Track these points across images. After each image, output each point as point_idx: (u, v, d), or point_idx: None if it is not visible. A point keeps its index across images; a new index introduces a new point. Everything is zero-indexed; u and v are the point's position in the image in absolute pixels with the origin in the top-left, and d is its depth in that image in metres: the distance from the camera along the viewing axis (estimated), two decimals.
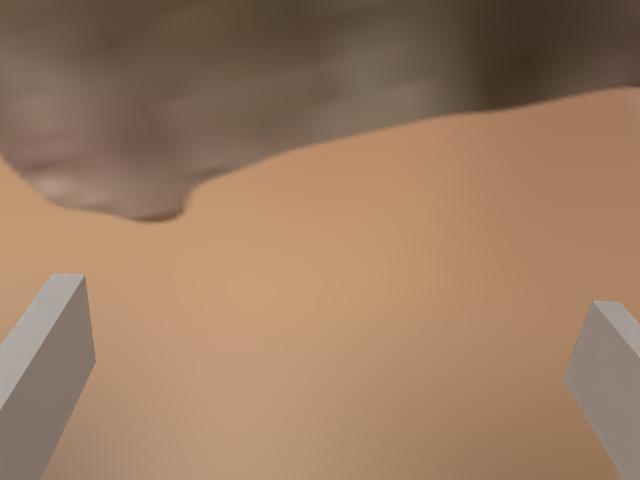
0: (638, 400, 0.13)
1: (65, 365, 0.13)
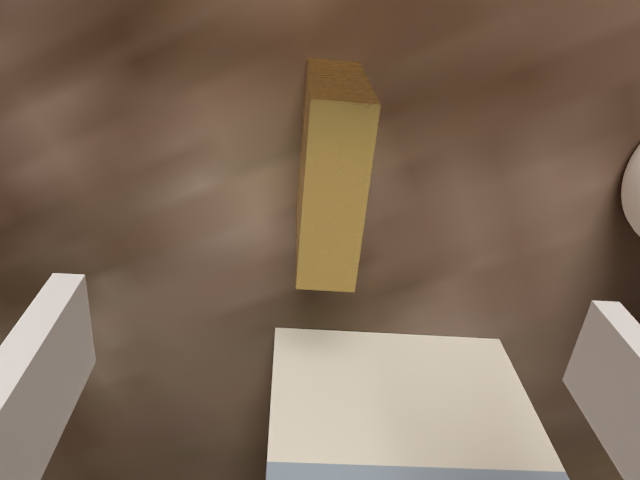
0: (638, 400, 0.13)
1: (65, 365, 0.13)
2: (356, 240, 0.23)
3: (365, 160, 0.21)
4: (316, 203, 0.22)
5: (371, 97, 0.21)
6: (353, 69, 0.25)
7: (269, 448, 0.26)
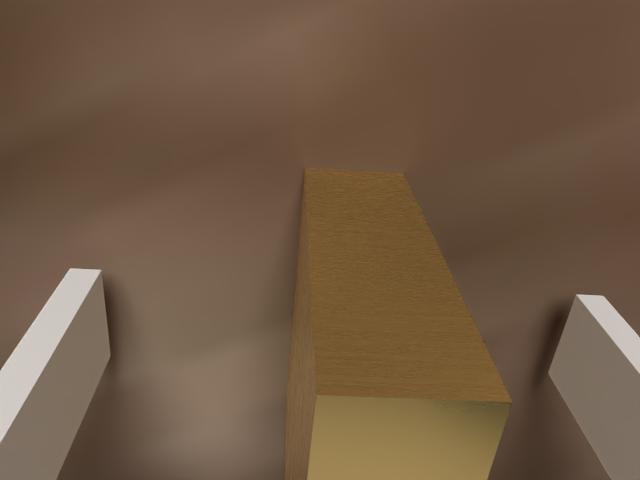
0: (619, 391, 0.13)
1: (83, 358, 0.13)
2: None
3: None
4: None
5: (474, 352, 0.08)
6: (398, 205, 0.12)
7: None
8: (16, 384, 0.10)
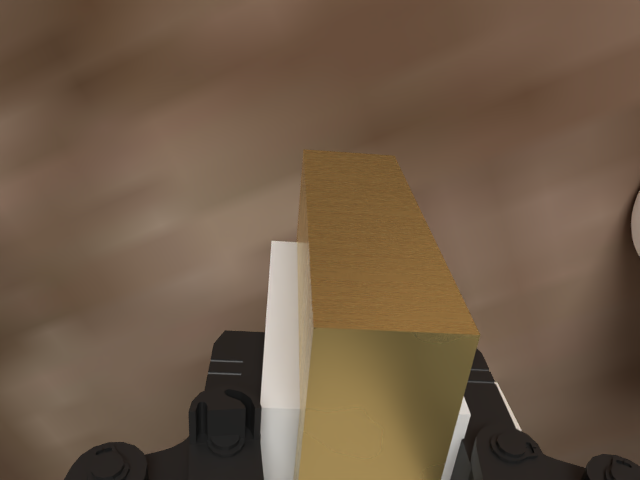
0: None
1: None
2: None
3: (435, 437, 0.09)
4: None
5: (449, 298, 0.09)
6: (388, 182, 0.14)
7: None
8: (284, 328, 0.12)
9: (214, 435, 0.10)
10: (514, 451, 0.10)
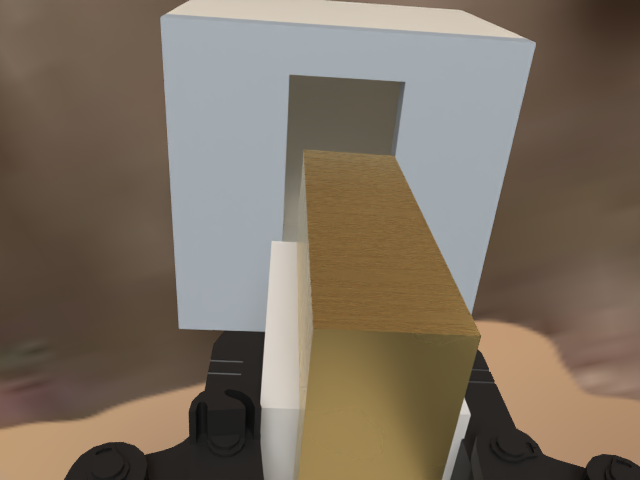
0: None
1: None
2: None
3: (435, 439, 0.09)
4: None
5: (450, 299, 0.09)
6: (389, 182, 0.14)
7: (172, 11, 0.22)
8: (285, 328, 0.12)
9: (214, 435, 0.10)
10: (514, 451, 0.10)
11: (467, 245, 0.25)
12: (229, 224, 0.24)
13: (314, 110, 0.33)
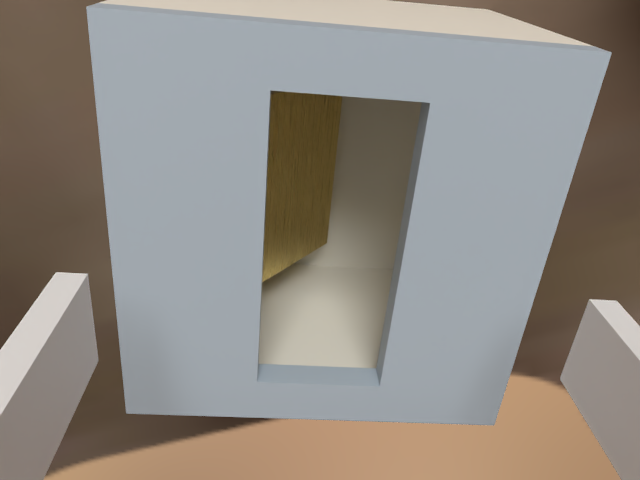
0: (635, 398, 0.13)
1: (68, 364, 0.13)
2: None
3: None
4: None
5: None
6: None
7: (109, 0, 0.16)
8: None
9: None
10: None
11: (502, 315, 0.19)
12: (189, 286, 0.18)
13: None
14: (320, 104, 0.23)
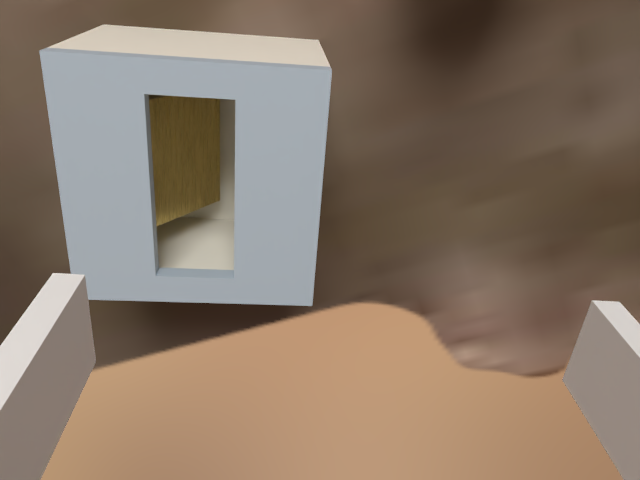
0: (638, 400, 0.13)
1: (65, 365, 0.13)
2: None
3: None
4: None
5: None
6: None
7: (54, 45, 0.28)
8: None
9: None
10: None
11: (302, 229, 0.32)
12: (108, 211, 0.31)
13: None
14: (201, 104, 0.36)
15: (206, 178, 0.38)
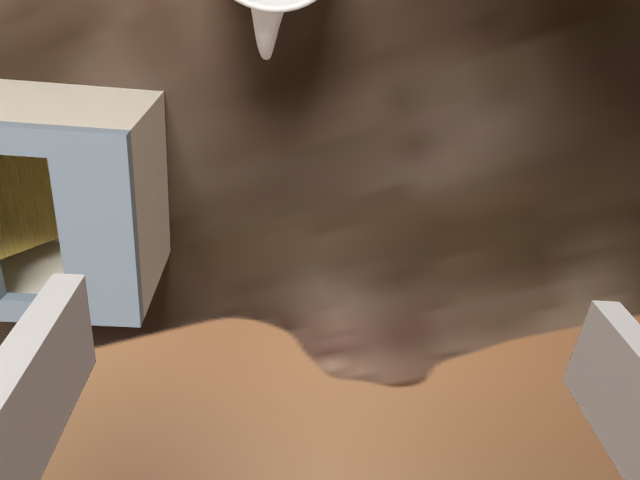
0: (638, 400, 0.13)
1: (65, 365, 0.13)
2: None
3: None
4: None
5: None
6: None
7: None
8: None
9: None
10: None
11: (121, 263, 0.37)
12: None
13: None
14: None
15: None
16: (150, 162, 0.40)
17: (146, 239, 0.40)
